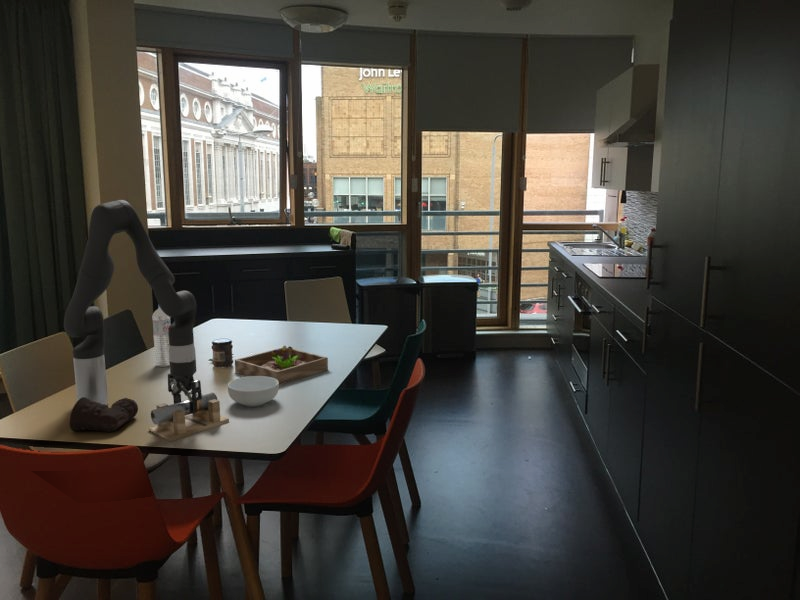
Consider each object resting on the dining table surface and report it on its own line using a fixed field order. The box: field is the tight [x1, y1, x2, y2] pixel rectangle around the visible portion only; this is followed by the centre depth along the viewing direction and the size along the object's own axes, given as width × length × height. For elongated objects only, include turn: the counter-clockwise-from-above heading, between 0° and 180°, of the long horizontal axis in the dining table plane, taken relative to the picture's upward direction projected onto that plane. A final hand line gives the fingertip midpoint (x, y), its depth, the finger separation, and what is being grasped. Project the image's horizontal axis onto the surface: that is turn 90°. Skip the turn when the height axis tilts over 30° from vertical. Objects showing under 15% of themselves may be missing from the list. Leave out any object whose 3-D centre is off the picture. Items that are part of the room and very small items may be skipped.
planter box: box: [234, 346, 329, 386], centre depth 253 cm, size 26×26×5 cm
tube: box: [150, 392, 218, 426], centre depth 194 cm, size 20×4×4 cm, turn 141°
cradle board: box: [148, 393, 230, 442], centre depth 195 cm, size 12×20×8 cm, turn 141°
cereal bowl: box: [227, 376, 280, 408], centre depth 217 cm, size 17×17×7 cm
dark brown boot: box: [69, 397, 139, 433], centre depth 196 cm, size 10×15×15 cm
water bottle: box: [151, 304, 172, 368], centre depth 259 cm, size 7×7×25 cm
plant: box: [262, 345, 308, 371], centre depth 252 cm, size 20×20×11 cm
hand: (185, 409), depth 194 cm, fingers open, 8 cm apart
